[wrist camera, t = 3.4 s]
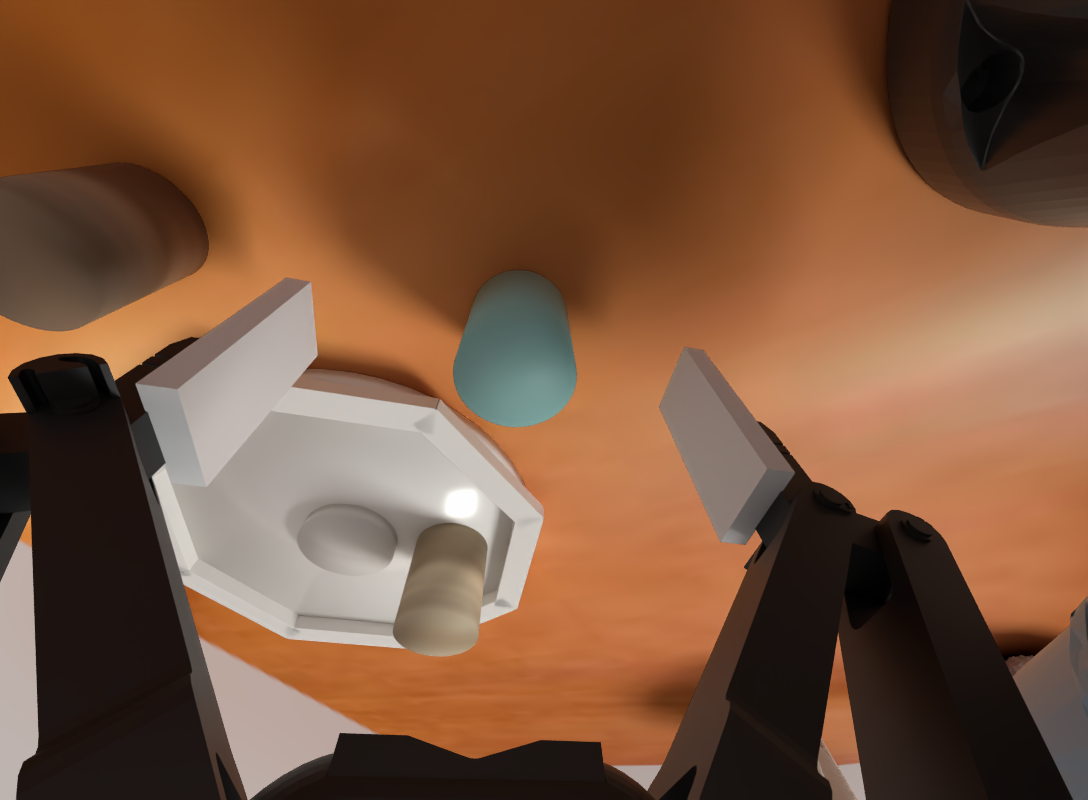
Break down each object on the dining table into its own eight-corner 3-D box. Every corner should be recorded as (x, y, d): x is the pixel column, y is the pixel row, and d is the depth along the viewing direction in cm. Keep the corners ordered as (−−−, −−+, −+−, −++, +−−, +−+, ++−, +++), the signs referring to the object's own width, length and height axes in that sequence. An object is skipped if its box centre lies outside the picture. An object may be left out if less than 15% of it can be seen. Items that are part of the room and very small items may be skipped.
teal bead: (477, 261, 17) (459, 309, 13) (577, 280, 18) (590, 333, 13) (467, 351, 19) (448, 417, 15) (555, 366, 20) (561, 434, 16)
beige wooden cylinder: (418, 518, 23) (393, 606, 19) (491, 527, 24) (483, 615, 20) (415, 564, 26) (392, 652, 21) (483, 572, 26) (473, 659, 22)
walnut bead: (66, 150, 15) (-118, 166, 11) (195, 176, 15) (67, 201, 11) (107, 267, 17) (-33, 318, 13) (218, 286, 17) (119, 341, 13)
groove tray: (104, 333, 18) (65, 352, 17) (567, 406, 21) (569, 429, 19) (207, 603, 29) (189, 630, 28) (504, 630, 32) (503, 656, 30)
